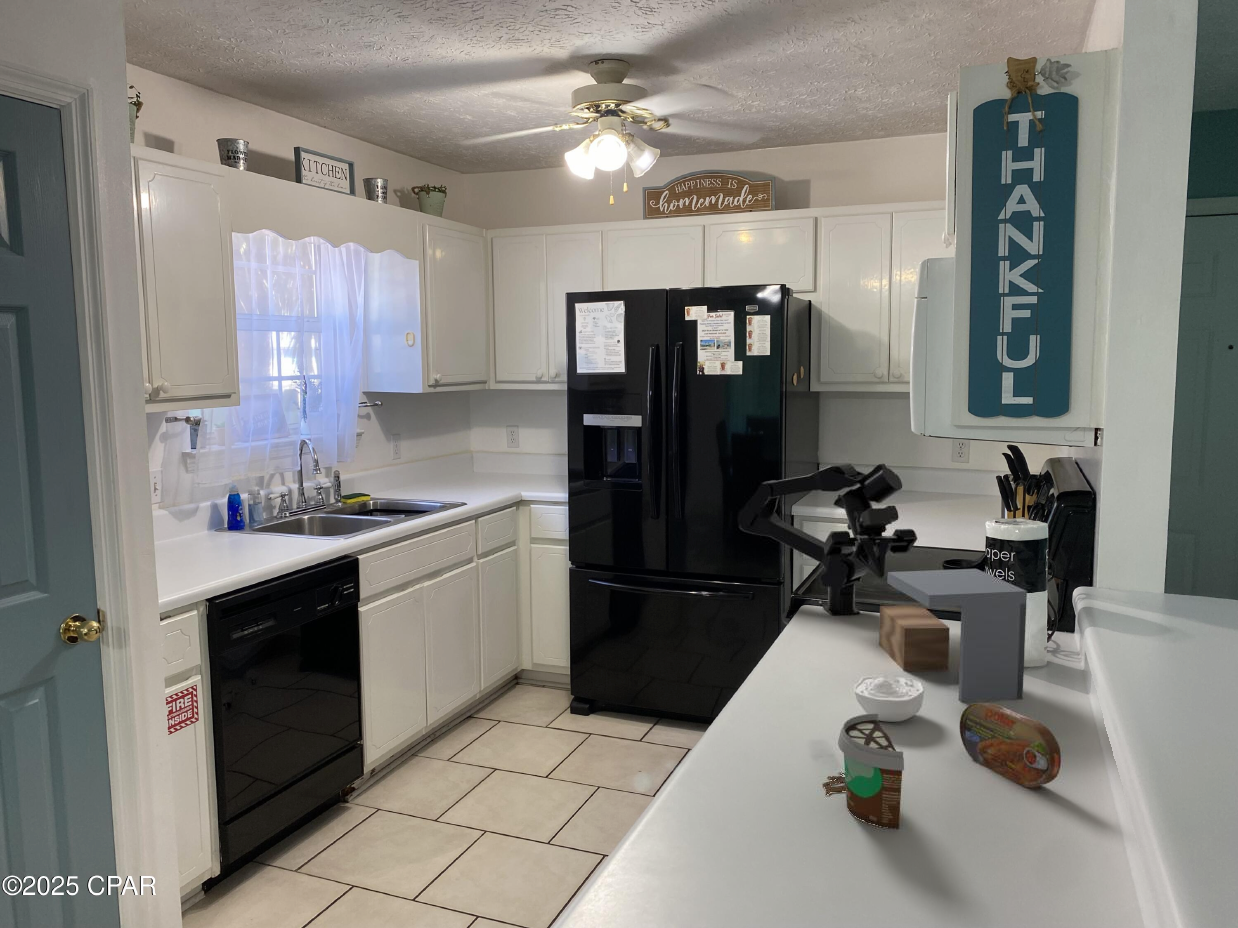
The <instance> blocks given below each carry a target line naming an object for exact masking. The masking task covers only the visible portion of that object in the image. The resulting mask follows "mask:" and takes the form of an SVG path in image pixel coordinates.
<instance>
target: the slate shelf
mask: <svg viewBox="0 0 1238 928" xmlns="http://www.w3.org/2000/svg"><path fill="white" fill-rule="evenodd" d="M886 583H887V584H888V585H889V586H891V587H893V588H895V589H896V590H898V591H900V592H902V593H903V594H905V595H907V596H909V597H910V598H912V599H914V600H916V601H917V602H918V603H921V604H922V605H924V606H926V607H927V608H946V607H948V608H949V607H952V608H953V607H960V609H961V610H960V613H961V615H960V636H959V638H960V642H959V643H960V644H959V673H958V674H959V675H958V701H959V702H960V703H969V702H970V703H972V702H975V703H976V702H987V701H988V702H989V701H993V702H994V701H1006V700H1009V701H1010V700H1023V697H1024V696H1023V695H1024V673H1025V670H1024V669H1025V650H1026V649H1025V648H1026V627H1027V626H1026V622H1027V598H1028V597H1027V595H1028V591H1027V590H1025V589H1023V588H1020V587H1018V586H1016V585H1014V584H1012V583H1010V582H1007V581H1005V580H1003V579H1000V578H998V577H996V576H993V575H991V574H989V573H987V572H985V571H982V570H980V569H978V568H962V569H936V570H934V569H933V570H912V571H911V570H909V571H907V570H906V571H887V581H886Z"/></svg>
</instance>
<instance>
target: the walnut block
mask: <svg viewBox="0 0 1238 928" xmlns="http://www.w3.org/2000/svg"><path fill="white" fill-rule="evenodd" d="M878 627H879V628H878V629H879V631H878V632H879V634H878V637H879V638H878V639H879V640H878V645H879V646H880V647H881V648H882V650H884V652H886V654H887V655H888V656H889V657H890V658H891V659H892V661H894V662H895V663H896V664H897V666H899V668H900V669H901V670H902V671H903V672H913V671H914V672H919V671H920V672H921V671H922V672H923V671H925V672H926V671H930V672H931V671H936V672H938V671H939V672H940V671H949V661H950V660H949V656H950V655H949V654H950V629H951V628H950V627H949V626H948V625H947V624H945V623H944V622H943V621H942V620H941V619H939V618H938V617H937V616H935V615H934V614H933V613H932V612H930V611H929V610H928V609H927V608H925V607H924V606H923V605H921V604H919V605H916V604H914V605H908V604H907V605H902V604H901V605H897V604H896V605H879V626H878Z"/></svg>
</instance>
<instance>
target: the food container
mask: <svg viewBox="0 0 1238 928" xmlns="http://www.w3.org/2000/svg"><path fill="white" fill-rule="evenodd" d="M837 745H838V748H839V750H840V751H841V752H842V753H843V762H844V763H843V764H844V773H845V784H846V792H845V798H846V808H848V809H849V810H848V809H847V810H848V812H849V811H850V812H851V813H852V814H853V815H854V816H856V817H857V818H859V819H861V820H864V821H865V822H867V823H866V824H868V823H871V824H875V825H878V826H881V827H880V828H883V827H888V828H887V829H890V828H893V829H894V830H896V829H897V830H899V829H900V818H901V817H900V815H901V801H902V800H901V797H902V782H903V771H905V760H904V759H905V758H904V751H902V750H900V751H899V750H897V749H896V748H895V746H894V745H893V742H892V740H891V738H890V736H889V735H888V733H887V732H886V731H885V730H884V729H883V728H882V726H881V725H880V723H879V720H878V714H867V713H864V714H859V715H856V716H854V717H851V718H849V719H847V720H846V721H845V722H844V723H843V725H842V727H841V730H840V733H839V737H838V740H837ZM845 784H844V785H845ZM850 812H849V813H850ZM851 813H850V814H851ZM852 814H851V815H852ZM853 815H852V816H853ZM854 816H853V817H854ZM856 817H855V818H856ZM857 818H856V819H857ZM859 819H858V820H859ZM861 820H860V821H861ZM865 822H864V823H865ZM878 826H877V827H878ZM895 828H896V829H895ZM893 829H892V830H893Z"/></svg>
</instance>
